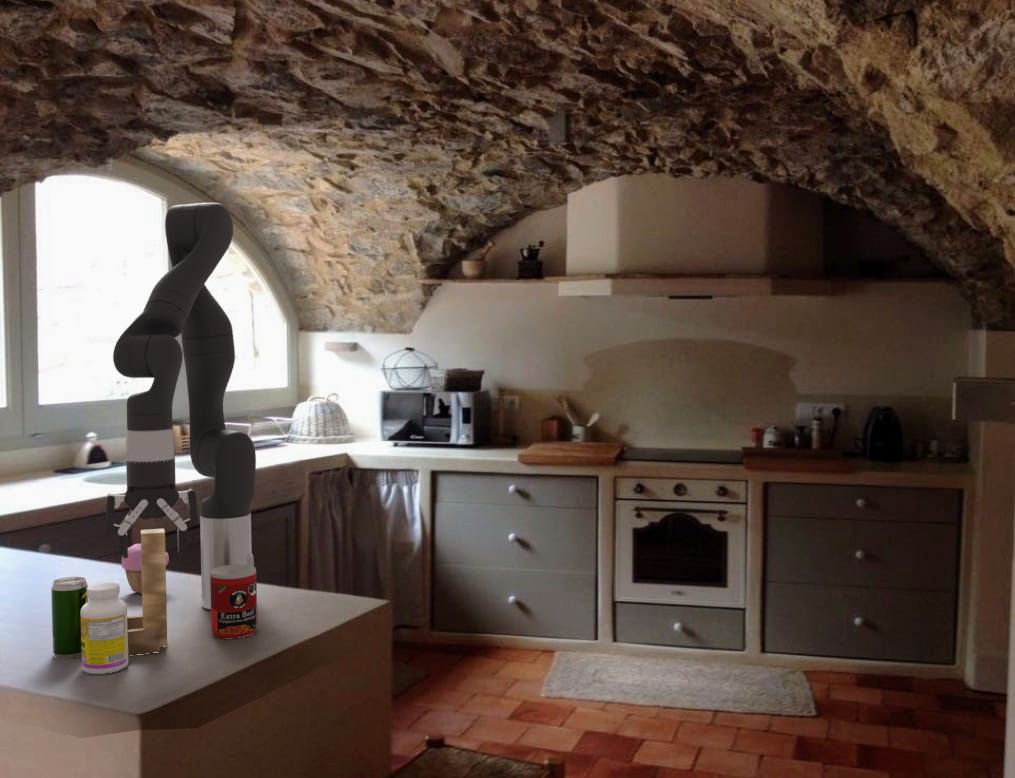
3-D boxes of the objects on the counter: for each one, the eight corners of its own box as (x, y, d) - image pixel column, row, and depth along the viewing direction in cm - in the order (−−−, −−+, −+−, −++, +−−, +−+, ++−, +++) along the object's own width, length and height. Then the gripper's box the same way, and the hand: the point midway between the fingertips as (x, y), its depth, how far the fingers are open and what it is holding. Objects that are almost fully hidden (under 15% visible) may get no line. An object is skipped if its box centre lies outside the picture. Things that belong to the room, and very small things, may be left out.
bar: (166, 640, 167) (163, 528, 166) (167, 646, 163) (164, 532, 162) (143, 643, 165) (140, 530, 164) (144, 649, 162) (141, 534, 161)
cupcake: (177, 590, 200) (176, 541, 199) (139, 600, 192) (138, 549, 192) (151, 584, 205) (149, 536, 204) (112, 593, 198) (111, 543, 197)
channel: (156, 636, 169) (156, 613, 169) (159, 652, 160) (159, 628, 160) (92, 643, 165) (92, 620, 165) (92, 660, 156) (91, 635, 156)
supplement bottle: (90, 662, 156) (88, 581, 155) (133, 660, 157) (132, 580, 156) (75, 676, 149) (73, 592, 149) (121, 675, 150) (118, 591, 149)
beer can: (55, 661, 156) (53, 586, 156) (51, 652, 161) (48, 579, 160) (92, 655, 159) (90, 581, 158) (86, 646, 164) (84, 574, 163)
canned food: (216, 642, 166) (215, 577, 165) (207, 629, 173) (205, 567, 172) (262, 635, 169) (261, 571, 169) (251, 623, 176) (250, 562, 176)
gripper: (194, 452, 169) (196, 546, 170) (103, 456, 163) (106, 554, 164) (198, 457, 162) (200, 555, 163) (103, 461, 157) (106, 563, 157)
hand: (153, 554), depth 164 cm, fingers open, 8 cm apart
